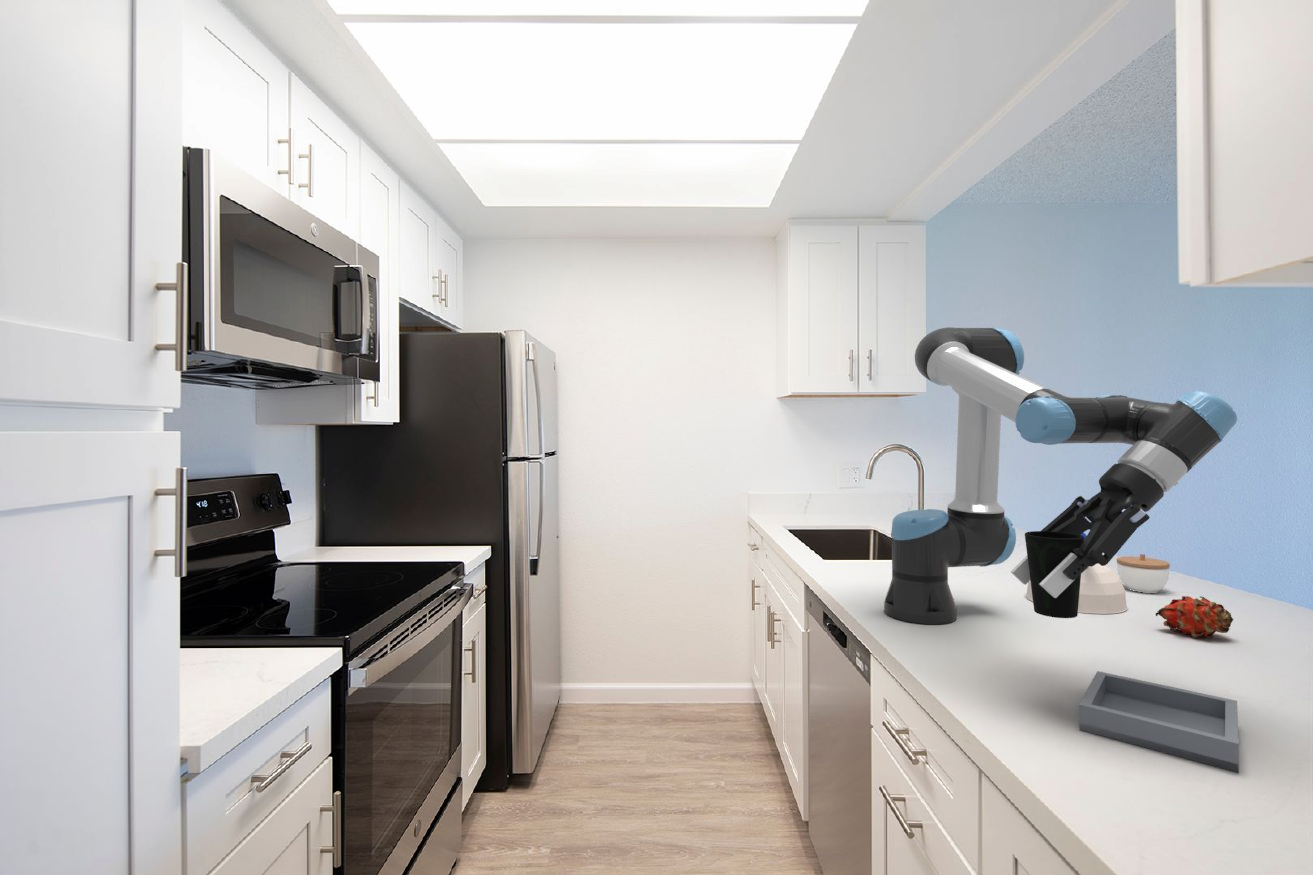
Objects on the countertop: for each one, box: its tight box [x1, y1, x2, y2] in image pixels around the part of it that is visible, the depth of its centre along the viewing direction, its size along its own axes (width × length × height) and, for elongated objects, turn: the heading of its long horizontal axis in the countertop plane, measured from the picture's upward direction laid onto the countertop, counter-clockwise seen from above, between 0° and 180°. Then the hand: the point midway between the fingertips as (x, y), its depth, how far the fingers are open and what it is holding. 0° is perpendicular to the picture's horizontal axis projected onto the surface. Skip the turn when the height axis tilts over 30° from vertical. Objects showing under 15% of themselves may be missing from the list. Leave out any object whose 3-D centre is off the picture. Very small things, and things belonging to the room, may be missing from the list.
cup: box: [1024, 530, 1084, 619], centre depth 94 cm, size 8×8×12 cm
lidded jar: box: [1116, 553, 1171, 594], centre depth 158 cm, size 11×11×9 cm
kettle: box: [1025, 532, 1129, 615], centre depth 147 cm, size 20×21×18 cm
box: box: [1078, 670, 1240, 773], centre depth 85 cm, size 16×16×4 cm
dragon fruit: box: [1155, 595, 1234, 639], centre depth 123 cm, size 8×8×12 cm
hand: (1032, 584), depth 94 cm, fingers closed on cup, 8 cm apart
